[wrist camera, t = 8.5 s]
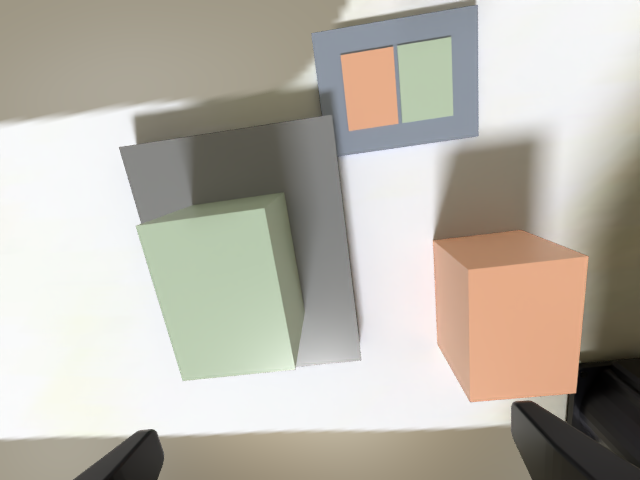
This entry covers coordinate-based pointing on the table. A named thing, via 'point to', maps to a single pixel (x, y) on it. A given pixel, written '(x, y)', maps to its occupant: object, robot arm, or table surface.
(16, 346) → the table surface
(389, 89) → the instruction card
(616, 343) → the table surface
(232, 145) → the base plate
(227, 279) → the sage brick
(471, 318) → the terracotta brick
